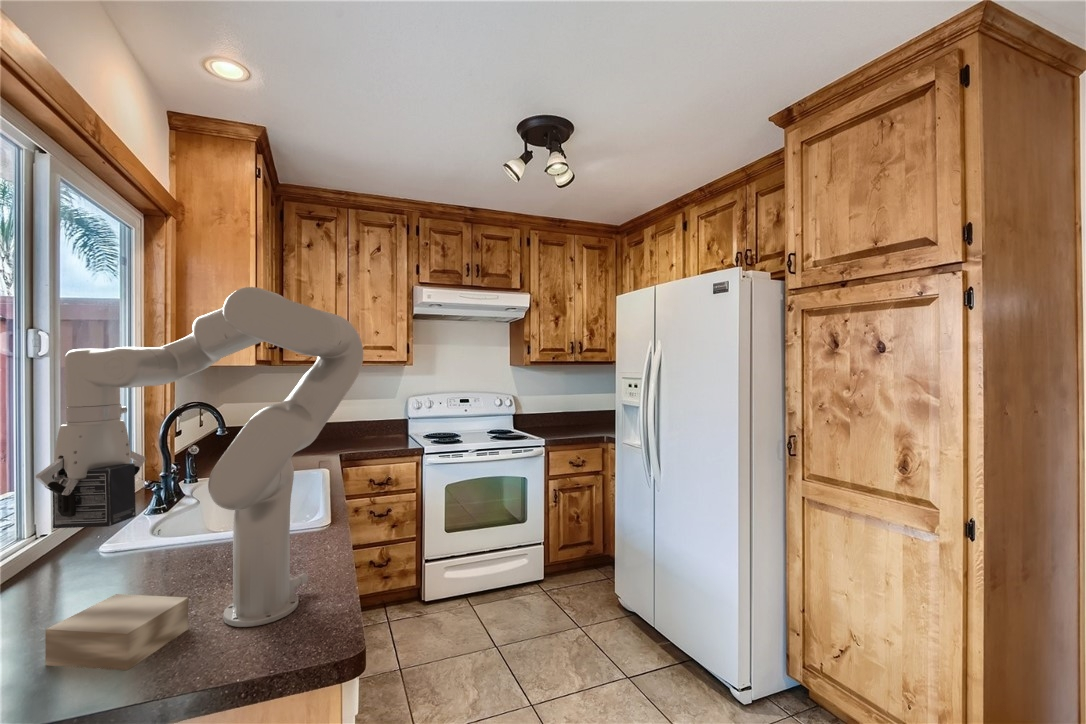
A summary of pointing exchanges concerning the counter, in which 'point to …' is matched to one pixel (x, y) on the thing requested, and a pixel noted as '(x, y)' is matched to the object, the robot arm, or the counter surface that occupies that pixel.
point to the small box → (100, 498)
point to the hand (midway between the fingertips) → (96, 508)
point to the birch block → (116, 632)
